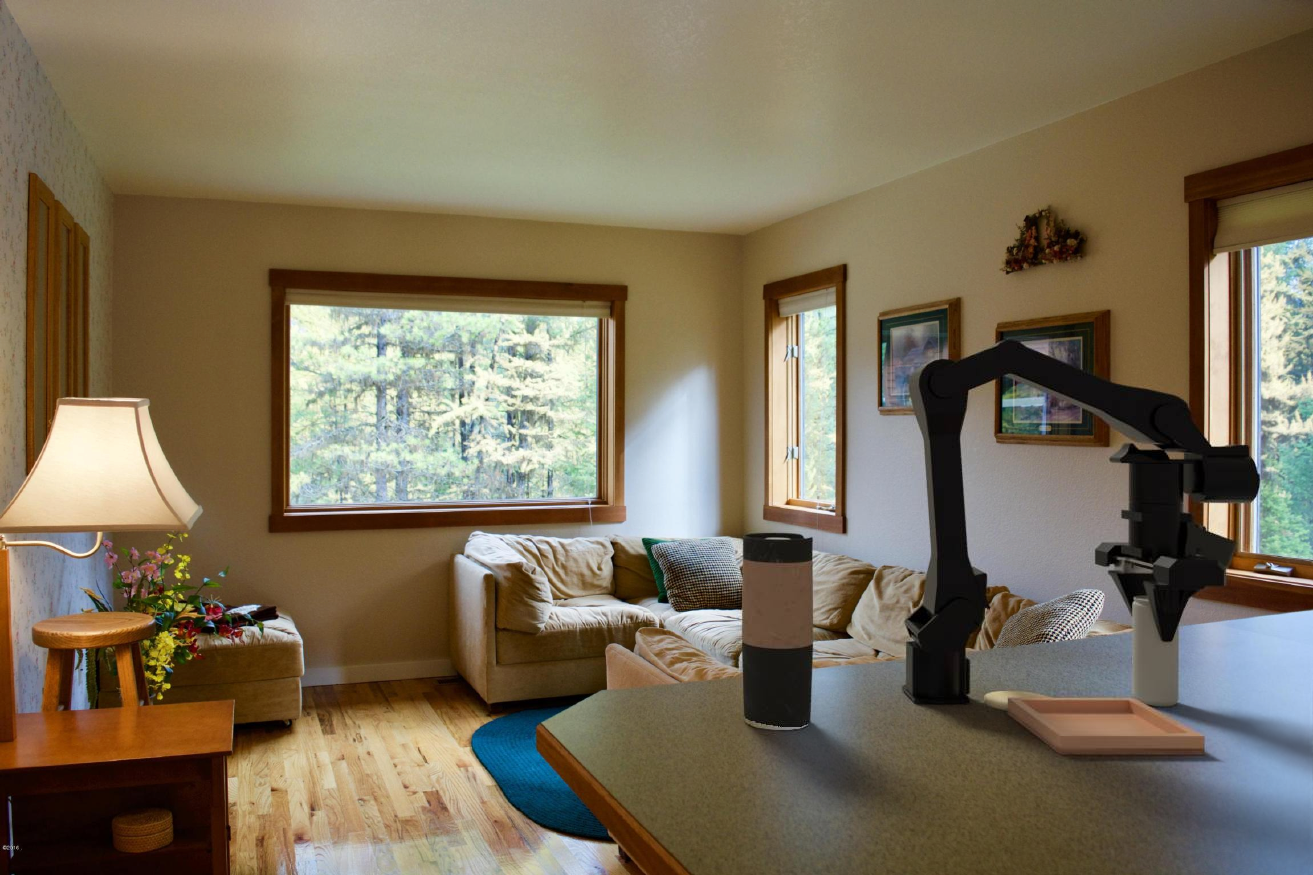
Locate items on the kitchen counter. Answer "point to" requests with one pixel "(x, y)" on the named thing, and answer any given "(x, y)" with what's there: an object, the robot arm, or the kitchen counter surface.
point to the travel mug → (777, 628)
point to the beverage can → (1153, 659)
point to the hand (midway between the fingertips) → (1155, 636)
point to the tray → (1104, 727)
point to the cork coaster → (1001, 698)
